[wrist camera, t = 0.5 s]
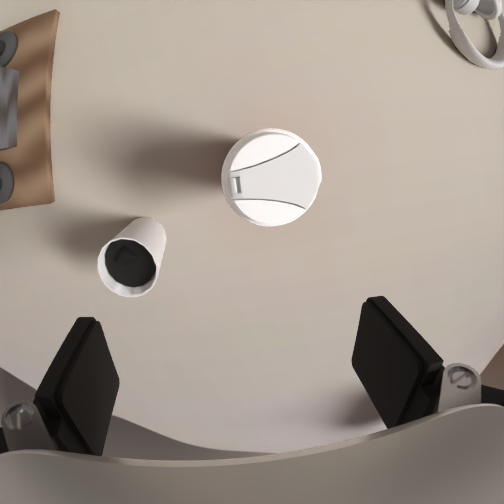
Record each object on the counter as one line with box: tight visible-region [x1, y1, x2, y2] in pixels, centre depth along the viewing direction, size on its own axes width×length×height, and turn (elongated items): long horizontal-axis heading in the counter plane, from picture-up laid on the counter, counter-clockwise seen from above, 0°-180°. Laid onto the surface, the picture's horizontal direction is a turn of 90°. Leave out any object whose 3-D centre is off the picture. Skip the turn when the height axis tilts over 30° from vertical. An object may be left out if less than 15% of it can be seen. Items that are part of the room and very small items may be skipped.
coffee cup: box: [221, 128, 321, 226], centre depth 30 cm, size 8×8×15 cm
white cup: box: [98, 217, 166, 297], centre depth 34 cm, size 7×7×10 cm
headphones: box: [444, 0, 504, 69], centre depth 29 cm, size 18×8×20 cm
